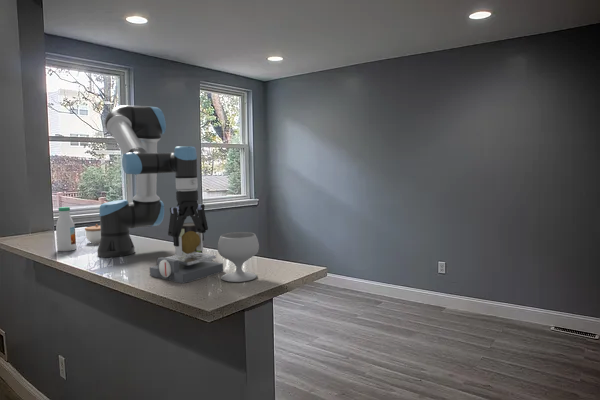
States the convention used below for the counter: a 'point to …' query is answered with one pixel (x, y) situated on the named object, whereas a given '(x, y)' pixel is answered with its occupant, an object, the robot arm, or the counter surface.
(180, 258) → the platform
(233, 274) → the chalice
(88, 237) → the lidded jar
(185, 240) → the potato
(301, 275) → the counter surface
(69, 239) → the milk bottle
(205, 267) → the scale base
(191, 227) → the coffee can
